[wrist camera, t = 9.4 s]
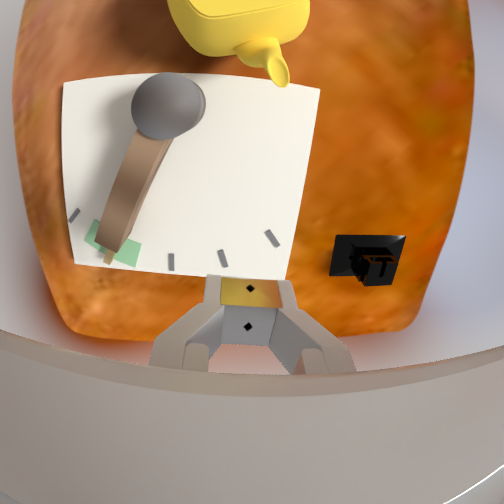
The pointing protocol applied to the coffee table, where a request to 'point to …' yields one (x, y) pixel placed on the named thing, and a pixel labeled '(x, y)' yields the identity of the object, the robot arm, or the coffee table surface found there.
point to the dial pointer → (148, 150)
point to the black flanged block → (367, 257)
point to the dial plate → (193, 176)
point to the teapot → (243, 29)
